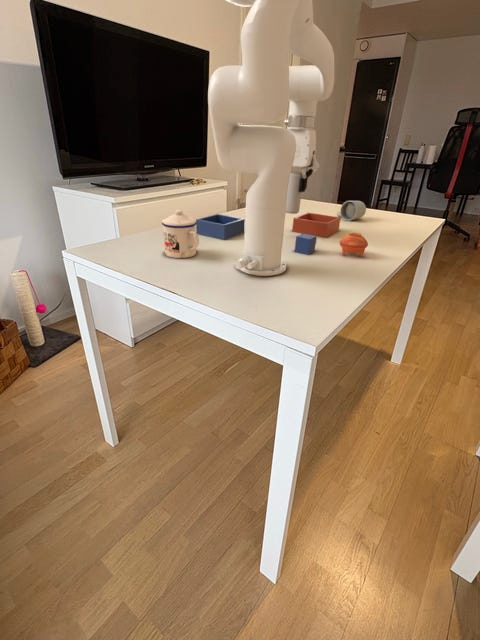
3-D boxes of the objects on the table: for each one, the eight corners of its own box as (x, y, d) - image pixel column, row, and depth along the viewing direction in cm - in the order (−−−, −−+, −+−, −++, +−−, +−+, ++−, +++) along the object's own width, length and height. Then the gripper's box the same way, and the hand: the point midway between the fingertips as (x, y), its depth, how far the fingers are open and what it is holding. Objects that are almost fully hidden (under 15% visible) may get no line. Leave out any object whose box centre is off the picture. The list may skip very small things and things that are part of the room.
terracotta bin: (325, 237, 115) (327, 223, 113) (292, 231, 121) (293, 218, 119) (338, 230, 125) (340, 217, 122) (306, 224, 130) (308, 212, 128)
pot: (352, 260, 95) (352, 235, 93) (333, 257, 102) (333, 234, 100) (374, 255, 98) (374, 231, 96) (354, 254, 105) (354, 231, 103)
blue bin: (224, 239, 109) (224, 225, 107) (196, 233, 114) (195, 219, 112) (244, 232, 117) (244, 218, 115) (217, 226, 123) (217, 213, 121)
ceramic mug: (365, 219, 141) (369, 200, 138) (354, 222, 136) (358, 202, 133) (343, 215, 148) (346, 196, 145) (332, 217, 143) (335, 198, 140)
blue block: (308, 254, 98) (310, 239, 96) (294, 251, 101) (296, 236, 98) (314, 251, 102) (316, 236, 100) (300, 248, 104) (302, 233, 102)
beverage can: (298, 214, 108) (303, 173, 103) (283, 213, 109) (287, 172, 103) (299, 211, 112) (304, 172, 107) (284, 210, 113) (288, 171, 108)
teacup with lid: (157, 252, 95) (153, 209, 89) (183, 246, 101) (181, 205, 95) (184, 264, 88) (182, 218, 82) (210, 256, 94) (210, 213, 88)
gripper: (269, 123, 100) (264, 188, 109) (324, 124, 92) (314, 195, 101) (281, 124, 106) (275, 187, 114) (333, 125, 98) (323, 192, 106)
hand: (293, 190), depth 107 cm, fingers closed on beverage can, 4 cm apart
